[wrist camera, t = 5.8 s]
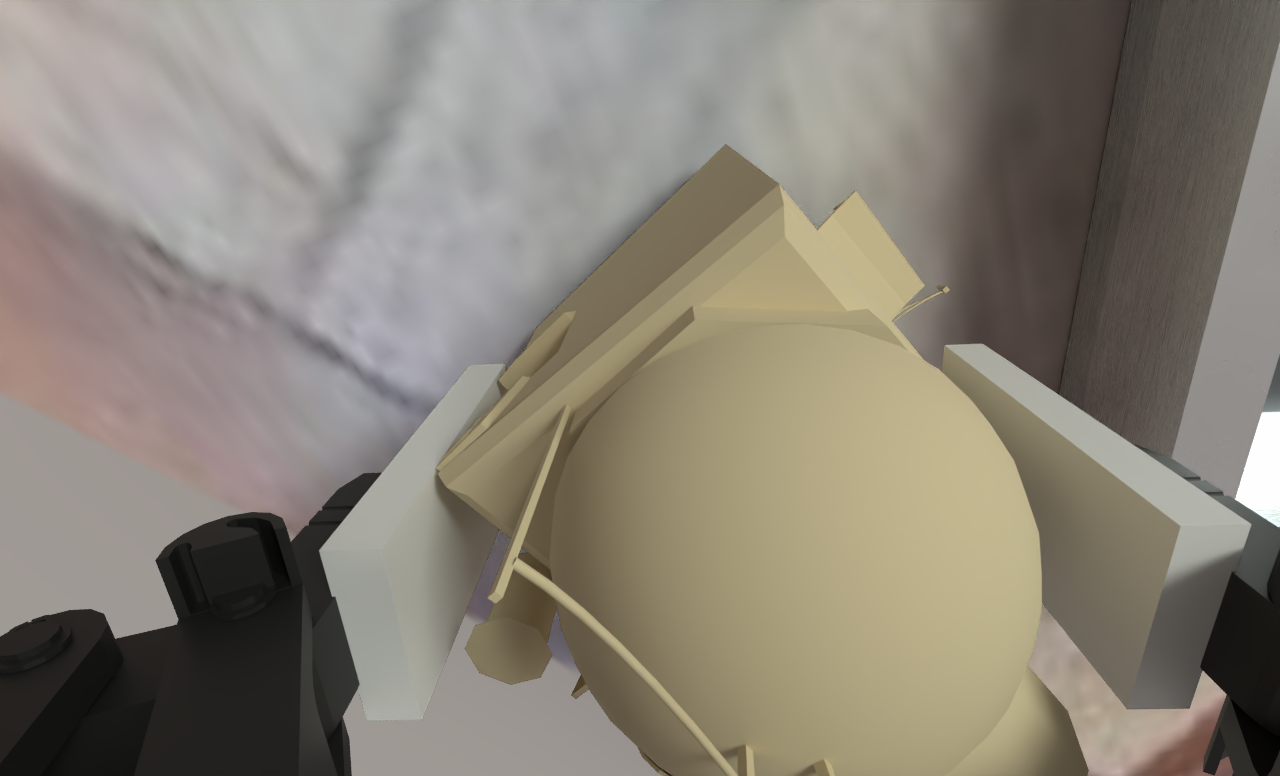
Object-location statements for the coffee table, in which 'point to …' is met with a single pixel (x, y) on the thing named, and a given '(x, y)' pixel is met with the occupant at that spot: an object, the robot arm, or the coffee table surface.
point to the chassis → (1189, 248)
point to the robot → (763, 508)
